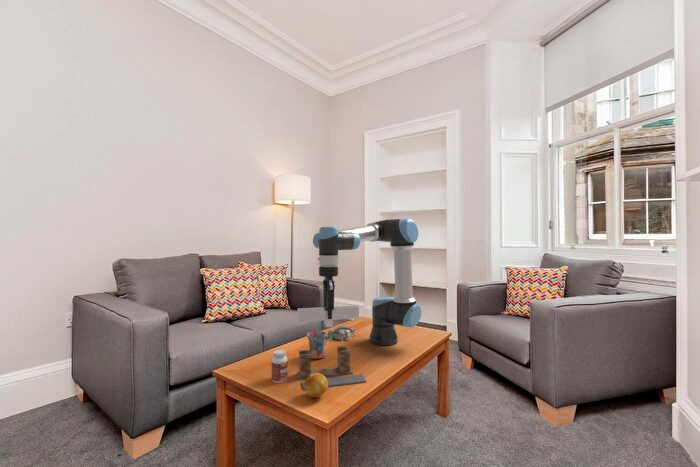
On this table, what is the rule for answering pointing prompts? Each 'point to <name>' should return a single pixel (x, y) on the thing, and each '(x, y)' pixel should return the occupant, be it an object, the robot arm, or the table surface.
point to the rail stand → (340, 370)
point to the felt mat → (343, 380)
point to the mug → (317, 344)
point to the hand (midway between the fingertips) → (328, 325)
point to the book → (341, 333)
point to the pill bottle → (279, 366)
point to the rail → (320, 313)
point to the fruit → (316, 385)
